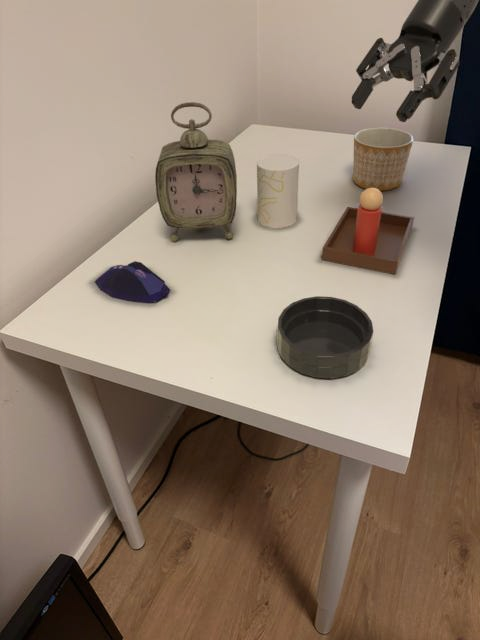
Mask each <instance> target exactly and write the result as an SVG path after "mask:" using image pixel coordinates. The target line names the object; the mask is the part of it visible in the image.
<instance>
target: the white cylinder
mask: <svg viewBox="0 0 480 640" xmlns="http://www.w3.org/2000/svg"><path fill="white" fill-rule="evenodd" d="M299 173H300V160H299V159H298V158H297V157H295V156H292V155H288V154H270V155H265V156H262V157H260V158H258V159H257V161H256V190H257V193H256V194H257V197H256V198H257V222H258V223H259V224H260V225H262V226H264V227H267V228H271V229H284V228H287V227H291V226H292V225H294V224H295V223H296V222H297V220H298V201H299V200H298V198H299V177H300V176H299V175H300V174H299Z"/></svg>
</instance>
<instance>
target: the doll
mask: <svg viewBox="0 0 480 640" xmlns="http://www.w3.org/2000/svg"><path fill="white" fill-rule="evenodd" d="M383 202H384V196H383V193H382V191H379V190H378V189H376V188H368V189H364V190H363V191H362V192H361V193H360V196H359V204H358V206H357V208H358V212H357V219H356V227H355V235H354V243H353V251H352V252H357V253H362V254H367V255H373V256H374V255H375V249H376V243H377V237H378V231H379V225H380V218H381V212H383V211H382V210H383V207H382V205H383Z"/></svg>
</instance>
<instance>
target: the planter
mask: <svg viewBox="0 0 480 640" xmlns="http://www.w3.org/2000/svg"><path fill="white" fill-rule="evenodd" d="M413 143H414V137H413V135H412V134H411V133H409V132H407V131H404V130H402V129H398V128H391V127H370V128H366V129H365V128H364V129H361V130H359V131H357V132H356V133H354V135H353V168H352V169H353V171H352V178H353V181H354V183H355V184H356V185H357V186H359V187H360V188H363V189H364V190H366V189H368V188H376V189H378V190H379V191H380V192H382V191H383V192H384V191H391V190H393V189H396V188H397V187H399V186H401V183H402V182H403V178H404V175H405V171H406V167H407V164H408V161H409V158H410V157H409V156H410V154H411V149H412V146H413Z"/></svg>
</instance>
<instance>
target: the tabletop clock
mask: <svg viewBox="0 0 480 640" xmlns="http://www.w3.org/2000/svg"><path fill="white" fill-rule="evenodd" d="M184 108H200V109H203V110H204V111H206V112H207V113H208V118H207V119H206V120H205V121H203V122H201V123H196V120H194V119H192V118H191V119H189V120H188V123H187V124H186V123H181V122H178V120H176V119H175V117H174V115H175V114H176V112H178V110H181V109H184ZM212 117H213V114H212V112H211V109H210V108H209V107H208V106H207V105H205V104H203V103H201V102H195V101H193V102H192V101H191V102H189V101H188V102H183V103H180V104H178V105H176V106H175V107H174V108H173V109H172V111H171V113H170V119H171V121H172V123H173V124H174V125H176V126H177V127H179V128H182V129H186V130H185V131H183V132H182V133H181V136H180V139H179V140H178V141H177V140H176V141H171V142H168V143H167V144H165V145H163V146H162V148H161V150H160V154H159V157H158V159H157V163H156V167H155V176H154V177H155V178H154V179H155V181H154V182H155V192H156V199H157V202H158V203H157V204H158V207H159V210H160V214H161V216H162V217H161V218H162V219H163V221H164V222H165V224H166V226H168V227H171V228H174V229H175V231H174V232H173V233H171V234H170V240H171V241H172V242H178V241H179V240H180V239H179V238H180V237H179V234H178V233H179V232H180V229H181V230H205V229H214V228H223V230H224V231H225V234H224V237H225V239H226V240H231V239H233V237H234V234H233V232H232V231H231V230H229V229H228V225H231V224H233V221H234V220H235V217H236V212H237V195H238V189H237V188H238V182H237V178H238V177H237V169H236V167H237V166H236V160H235V159H236V158H235V156H234V151H233V150H232V147H231V145H230V143H229V142H226V141H224V140H220V139H219V140H218V139H209V138H208V136H207V135H206V133H205V132H204V131H203V130H201V128H203V127H205V126H207V125H208V124H209V123H210V122H211V120H212Z"/></svg>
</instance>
